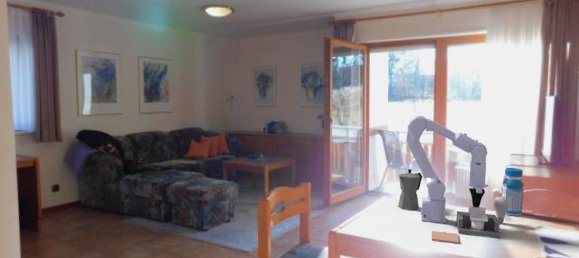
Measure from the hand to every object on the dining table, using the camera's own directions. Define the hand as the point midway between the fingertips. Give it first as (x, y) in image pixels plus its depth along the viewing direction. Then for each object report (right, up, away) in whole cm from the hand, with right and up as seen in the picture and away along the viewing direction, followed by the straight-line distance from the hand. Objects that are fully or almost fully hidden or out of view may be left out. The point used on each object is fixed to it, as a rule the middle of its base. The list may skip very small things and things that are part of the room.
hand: (475, 206), depth 163 cm
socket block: (-2, -8, -6) cm, 10 cm away
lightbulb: (+11, -8, +3) cm, 14 cm away
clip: (-2, -3, -7) cm, 8 cm away
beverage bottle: (+24, -7, +17) cm, 30 cm away
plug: (-3, -8, -7) cm, 11 cm away
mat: (-18, -9, -15) cm, 25 cm away
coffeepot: (-19, -5, +25) cm, 32 cm away
